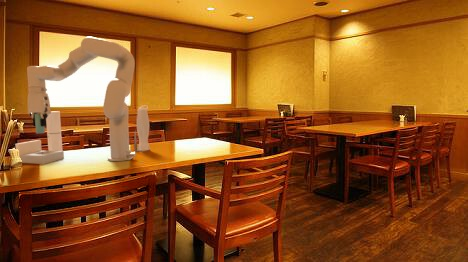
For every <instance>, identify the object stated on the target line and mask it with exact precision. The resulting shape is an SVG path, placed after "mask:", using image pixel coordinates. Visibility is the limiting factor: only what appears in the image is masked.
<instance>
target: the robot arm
mask: <svg viewBox="0 0 468 262" xmlns="http://www.w3.org/2000/svg"><path fill="white" fill-rule="evenodd" d="M98 57H100V58H105V59H109V60H112V61H116V62H117V68H116V71H115V77H114V79H112V80H110V81H109V82H108V84H107V86H106V90H105V96H104V100H103V108H102V111H103V114H104V115H105V117H106V118H108V119H109V121H108V122H109V124H108V125H109V127H108V129H109V145H110V156H108V157H107V161H110V162H124V161H130V160H132V159H133V157H136V154H137V153H136V152H132V149H130V136H129V135H130V133H129V132H130V131H129V130H130V129H129V112H130V111H129V106H128V104H127V103H126V102H125V100H126V98H127V97H129V95H130V94H131V90H132V83H133V78H134V74H135V72H134V71H135V64H136V63H135V62H136V61H135V57H134V56H133V54H132V53H131V52H130V50H129V49H127V48H126V47H125V46H123V45H121V44H119V43H117V42H114V41H112V40H111V41H110V40H106V39H103V38H97V37H94V36H86V37H84V38H83V39H82V40H81V42H80V46H78V47H76V48H74V49H73V50H70V51H69V53H68V58H67V59H66V60H65V61H64V62H62V63H61V64H59V65H57V66H56V65H55V66H54V65H41V66H40V65H39V66H38V65H28V66H27V68H26V72H27V74H26V75H27V86H28V95H27V110H26V113H27V114H28V115H29V116H30V117H31V119H32V127H36V125H35V114H40V115H41V118H42V119H40V122H41V126H45V127H47V123H46V118H47V117H48V115H49V114H50V113H51V111H52V110H51V104H50V98H49V95H48V93H47V91H48V89H47V88H46V81H51V82H52V81H53V82H61V81H63V80H65V79H67V78H69V77H70V76H72V75H74V74H75V73H76V72H77V71H78V70H79V69H80V68H82V67H83V66H84V65H87V64H88V63H89V62H92V61H94V60H95V59H97V58H98ZM43 114H44V115H43Z"/></svg>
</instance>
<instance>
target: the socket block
mask: <svg viewBox="0 0 468 262" xmlns="http://www.w3.org/2000/svg"><path fill="white" fill-rule="evenodd" d="M64 153H65V152H64V150H63V151H49V150H47V149H46V150H45V149H44V150H41V151H36V152H31V153H27V154H22V155H20V158H21V160H22V163H21V164H39V165H40V164H41V165H44V164H48V163H50V162H51V163H52V162H55V161H56V162H57V161H59V160H63V159H65V155H64Z"/></svg>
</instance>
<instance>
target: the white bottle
mask: <svg viewBox="0 0 468 262" xmlns="http://www.w3.org/2000/svg"><path fill="white" fill-rule="evenodd" d="M148 108H149V105H147V104H144V105H141V106H139V108H137V113H136V131H137V134H136V132H134V138H133V140H134V144H133V146H134V149H133V152H139V153H142V152H149V151H151V147H150V144H149V140H148V139H149V134H150V117H149V115H148ZM137 136H138V137H137ZM137 138H138V140H139V142H138V141H137ZM137 143H138V144H137Z"/></svg>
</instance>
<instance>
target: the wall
mask: <svg viewBox="0 0 468 262" xmlns="http://www.w3.org/2000/svg"><path fill="white" fill-rule="evenodd" d="M14 145H15V150H16V149H18V150H19V156H20V155H22V154H27V153H31V152H36V151H41V150H42V140H41V139H36V140H30V141H23V142H18V143H15V144H14Z"/></svg>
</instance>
